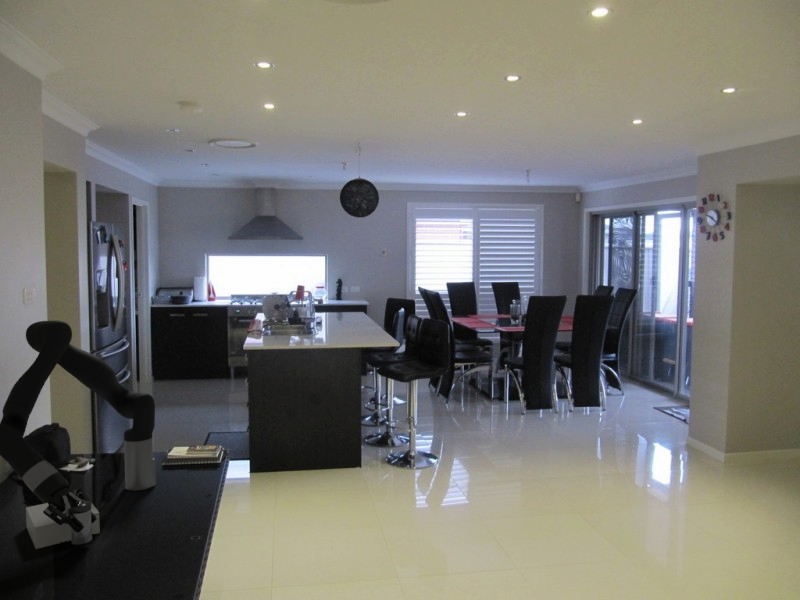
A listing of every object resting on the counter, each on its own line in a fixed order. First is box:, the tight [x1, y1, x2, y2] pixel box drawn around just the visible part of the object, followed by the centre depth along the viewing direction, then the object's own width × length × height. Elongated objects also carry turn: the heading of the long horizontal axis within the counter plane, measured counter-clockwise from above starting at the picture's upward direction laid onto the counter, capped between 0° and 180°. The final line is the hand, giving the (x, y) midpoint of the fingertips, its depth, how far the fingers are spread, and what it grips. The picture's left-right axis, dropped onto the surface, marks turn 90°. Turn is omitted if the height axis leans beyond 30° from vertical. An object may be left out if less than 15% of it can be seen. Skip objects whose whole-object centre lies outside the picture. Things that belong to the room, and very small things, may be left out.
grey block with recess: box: [25, 502, 101, 550], centre depth 177 cm, size 16×18×6 cm
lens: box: [70, 500, 93, 546], centre depth 166 cm, size 5×5×10 cm
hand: (87, 525), depth 166 cm, fingers closed on lens, 5 cm apart
